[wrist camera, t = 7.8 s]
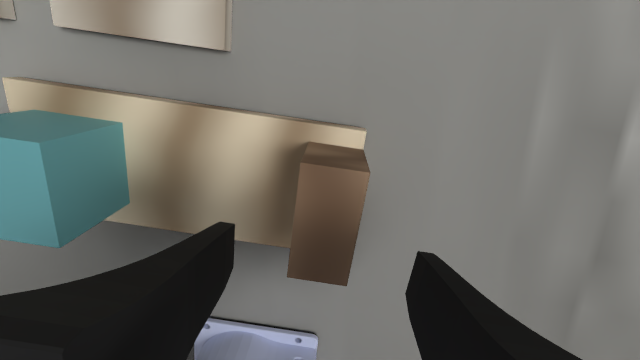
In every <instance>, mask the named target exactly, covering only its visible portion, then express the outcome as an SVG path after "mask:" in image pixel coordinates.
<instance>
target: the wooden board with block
mask: <svg viewBox="0 0 640 360" xmlns="http://www.w3.org/2000/svg"><path fill="white" fill-rule="evenodd" d="M2 79H3V84H4V89H5V93H6V98H7V102H8V107H9V111H10V113H12V112H19V111H27V110H41V111H48V112H55V113H61V114H68V115H75V116H82V117H88V118H95V119H102V120H108V121H115V122H122V124H123V134H124V145H125V156H126V166H127V177H128V188H129V199H130V203H129V204H128V205H126V206H125V207H123V208H122V209H120V210H118V211H117V212H115V213H114V214H112V215H111V216H109V217H107V218H106V219H104V220H106V221H113V222H119V223H126V224H132V225H139V226H146V227H152V228H159V229H165V230H172V231H179V232H185V233H192V234H197V233H199V232H200V231H202V230H204V229H206V228H208V227H210V226H212V225H214V224H215V223H218V222H227V223H233V224H235V239H234V240H238V241H245V242H251V243H258V244H265V245H271V246H278V247H285V248H290V255H289V264H288V272H287V277H289V278H296V279H302V280H309V281H315V282H322V283H329V284H335V285H342V286H347V283H348V278H349V273H350V268H351V264H352V259H353V254H354V249H355V244H356V239H357V235H358V230H359V225H360V220H361V215H362V211H363V206H364V201H365V196H366V191H367V186H368V182H369V177H370V170H369V167H368V164H367V160H366V157H365V154H364V150H363V148H364V143H365V137H366V132H367V131H366V129H365V128H361V127H354V126H347V125H340V124H334V123H327V122H320V121H313V120H306V119H300V118H293V117H286V116H279V115H273V114H266V113H259V112H252V111H246V110H239V109H232V108H225V107H219V106H212V105H205V104H198V103H192V102H185V101H178V100H171V99H164V98H158V97H151V96H144V95H137V94H131V93H124V92H117V91H110V90H104V89H97V88H90V87H83V86H77V85H70V84H63V83H56V82H50V81H43V80H36V79H29V78H23V77H7V78H2Z"/></svg>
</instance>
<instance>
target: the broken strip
mask: <svg viewBox="0 0 640 360" xmlns="http://www.w3.org/2000/svg"><path fill="white" fill-rule="evenodd" d="M50 5H51V12H52V18H53V24H54V26H60V27H66V28H73V29H80V30H87V31H94V32H100V33H107V34H114V35H121V36H128V37H135V38H141V39H148V40H155V41H162V42H169V43H175V44H182V45H189V46H196V47H203V48H210V49H216V50H223V51H230V52H231V30H232V0H50ZM0 18H5V19H12V20H16V16H15V11H14V6H13V0H0Z"/></svg>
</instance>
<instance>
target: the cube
mask: <svg viewBox="0 0 640 360" xmlns="http://www.w3.org/2000/svg"><path fill="white" fill-rule="evenodd" d="M129 203H130V199H129V188H128V177H127V166H126V156H125V145H124V134H123V124H122V122H115V121H108V120H102V119H95V118H88V117H82V116H75V115H68V114H61V113H55V112H48V111H41V110H27V111H19V112H12V113H4V114H0V239H2V240H9V241H16V242H22V243H29V244H35V245H42V246H49V247H55V248H61V247H62V246H64V245H65V244H67V243H68V242H70V241H72V240H73V239H75V238H76V237H78V236H79V235H81V234H82V233H84V232H86V231H87V230H89V229H90V228H92V227H93V226H95V225H97V224H98V223H100V222H101V221H103V220H104V219H106V218H107V217H109V216H111V215H112V214H114V213H115V212H117V211H118V210H120V209H122V208H123V207H125V206H126V205H128V204H129Z"/></svg>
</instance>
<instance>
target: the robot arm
mask: <svg viewBox="0 0 640 360" xmlns="http://www.w3.org/2000/svg"><path fill="white" fill-rule="evenodd" d="M234 239H235V224H233V223H227V222H218V223H215V224H214V225H212V226H210V227H208V228H206V229H204V230H202V231H200V232H199V233H197V234H195V235H193V236H191V237H189V238H187V239H186V240H184V241H182V242H180V243H178V244H176V245H173V246H171V247H169V248H167V249H165V250H163V251H161V252H159V253H157V254H154V255H152V256H150V257H147V258H145V259H142V260H140V261H137V262H134V263H132V264H129V265H126V266H124V267H121V268H117V269H114V270H111V271H108V272H104V273H101V274H98V275H95V276H91V277H88V278H84V279H80V280H76V281H72V282H69V283H64V284H60V285H55V286H51V287H46V288H41V289H37V290H31V291H25V292H20V293H14V294H8V295H2V296H0V360H186V359H187V357H188V354H189V352H190V350H191V348H192V347H193V345H194V360H316V353H317V345H318V337H317V336H316V335H314V334H310V333H303V332H297V331H290V330H284V329H277V328H271V327H264V326H258V325H251V324H245V323H238V322H232V321H225V320H219V319H212V318H209V316H210V314H211V313H212V311H213V309H214V307H215V306H216V304H217V302H218V300H219V298H220V297H221V295H222V293H223V291H224V289H225V287H226V284H227V282H228V280H229V277H230V274H231V272H232V269H233V261H234ZM405 294H406V300H407V307H408V313H409V318H410V322H411V325H412V328H413V332H414V335H415V338H416V342H417V345H418V348H419V351H420V355H421V358H422V360H582V359H580V358H578V357H576V356H575V355H573V354H571V353H569V352H567V351H566V350H564V349H562V348H561V347H559V346H557V345H555V344H554V343H552V342H550V341H549V340H547V339H545V338H544V337H542V336H540V335H539V334H537V333H536V332H534V331H532V330H531V329H529V328H528V327H526V326H525V325H523V324H522V323H520V322H519V321H518V320H516V319H515V318H513V317H512V316H510V315H509V314H507V313H506V312H505V311H503V310H502V309H500V308H499V307H498V306H497V305H495V304H494V303H493V302H491V301H490V300H489V299H488V298H486V297H485V296H484V295H482V294H481V293H480V292H479V291H478V290H476V289H475V288H474V287H473V286H472V285H470V284H469V283H468V282H467V281H466V280H464V279H463V278H462V277H461V276H460V275H459V274H458V273H456V272H455V271H454V270H453V269H452V268H451V267H450V266H448V265H447V264H446V263H445V262H444V261H443V260H441V259H440V258H439V257H438V256H436V255H435V254H433V253H427V252H420V251H418V252H417V256H416V259H415V263H414V266H413V269H412V273H411V276H410V280H409V283H408V287H407V290H406V293H405ZM207 324H208V325H207ZM297 338H300V339H297Z"/></svg>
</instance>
